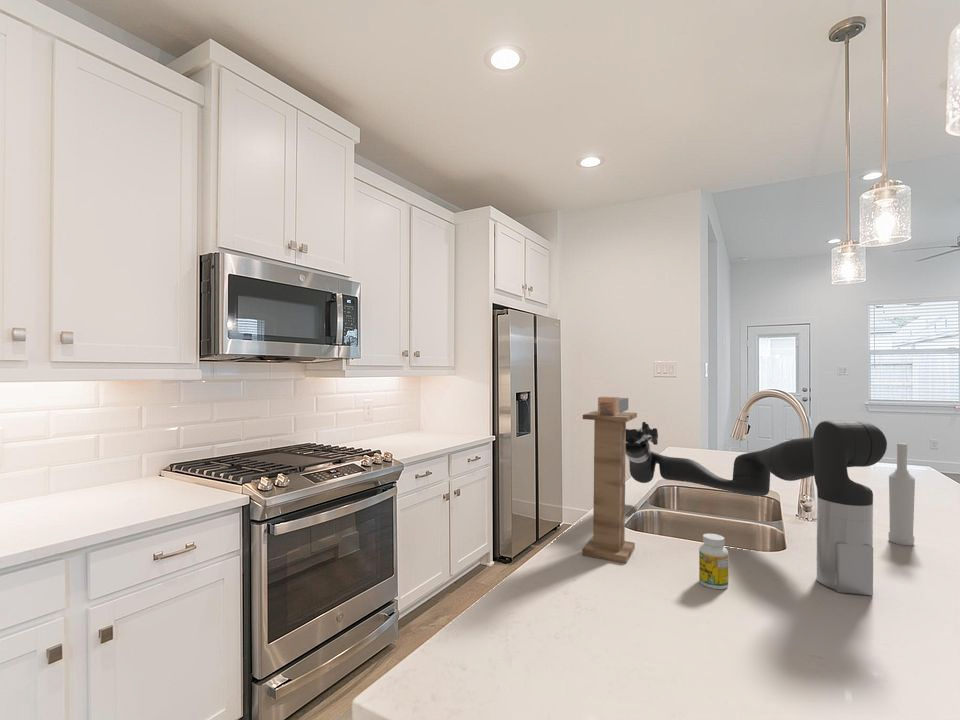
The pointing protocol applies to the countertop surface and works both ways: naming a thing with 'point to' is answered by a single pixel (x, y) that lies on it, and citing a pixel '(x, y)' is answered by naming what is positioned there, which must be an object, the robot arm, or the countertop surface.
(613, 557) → the stand
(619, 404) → the orange and blue box
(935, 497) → the countertop surface
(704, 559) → the supplement bottle
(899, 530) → the bottle
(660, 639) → the countertop surface
